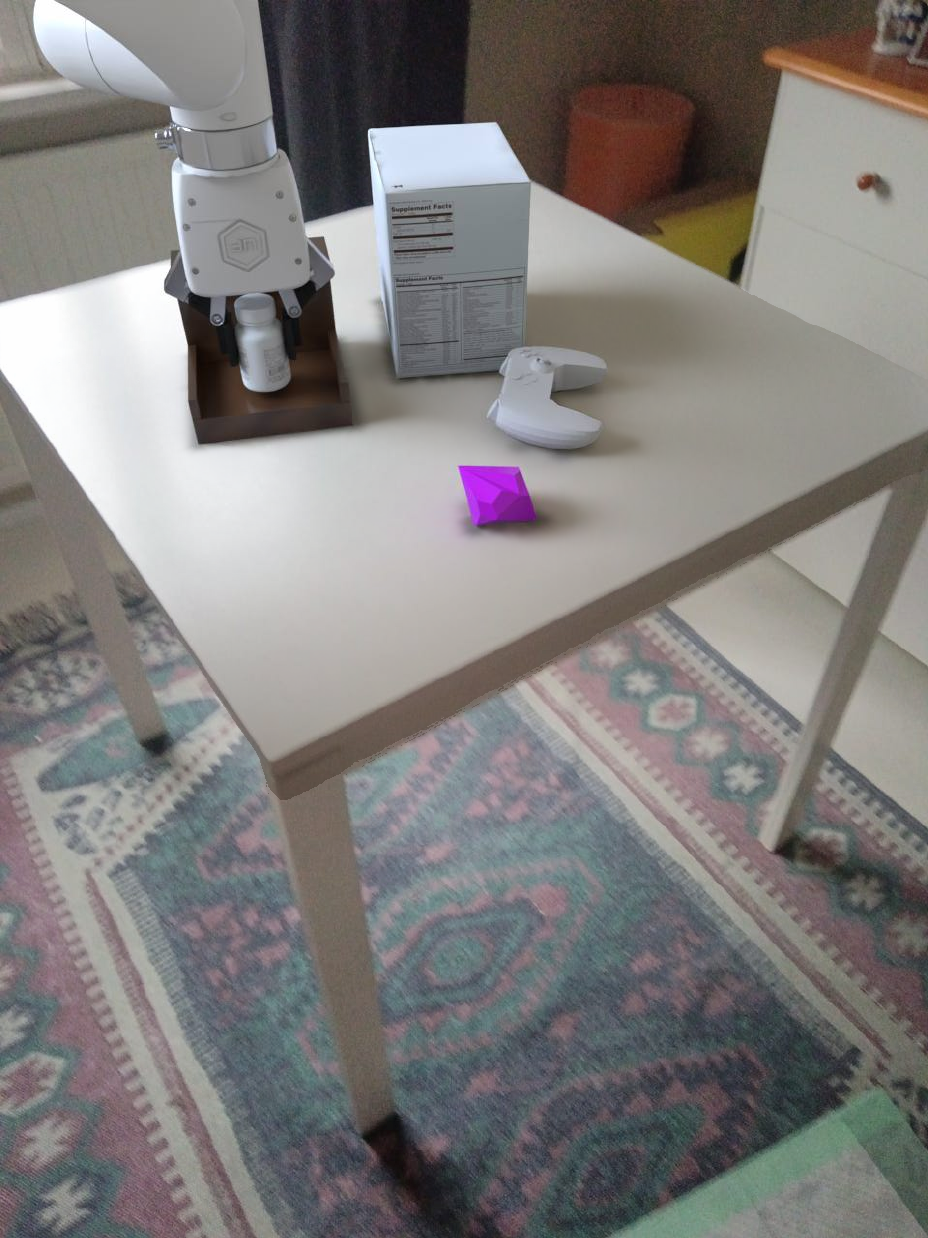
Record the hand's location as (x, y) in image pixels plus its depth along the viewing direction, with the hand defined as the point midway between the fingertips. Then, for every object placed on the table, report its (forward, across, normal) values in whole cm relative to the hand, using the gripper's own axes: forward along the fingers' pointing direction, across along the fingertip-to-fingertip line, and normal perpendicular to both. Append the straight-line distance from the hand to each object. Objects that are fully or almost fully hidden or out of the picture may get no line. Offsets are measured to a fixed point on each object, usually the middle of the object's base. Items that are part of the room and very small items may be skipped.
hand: (262, 354), depth 88 cm
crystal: (+6, +17, -20) cm, 27 cm away
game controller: (+6, +25, -6) cm, 27 cm away
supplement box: (+6, +19, +11) cm, 23 cm away
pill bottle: (+3, 0, 0) cm, 3 cm away
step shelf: (+6, 0, +4) cm, 7 cm away
